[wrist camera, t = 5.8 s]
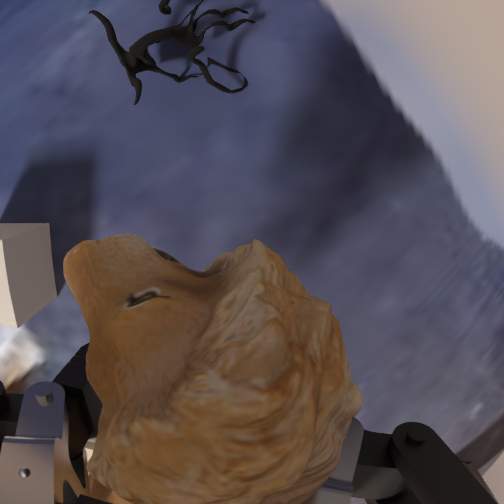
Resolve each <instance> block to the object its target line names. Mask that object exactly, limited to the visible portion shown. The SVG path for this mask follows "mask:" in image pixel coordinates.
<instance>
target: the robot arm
mask: <svg viewBox="0 0 504 504" xmlns="http://www.w3.org/2000/svg"><path fill="white" fill-rule="evenodd" d="M88 347H89V343H88V344H86V345H84V346H82V347H81V348H80V349H79V350H78V352H77V353H76V354H75V356H73V357H72V359H71V360H70V362H68V363H67V364H66V366H65V367H64V368H63V369H62V370H61V372H60V373H59V374H58V375H57V376H56V378H55V379H54V380H53V381H52V382H39V383H36V384H34V385H32V386H30V387H29V388H28V389H27V390H26V391H25V393H24V394H11V393H6V390H5V388H4V385H3V383H2V382H1V381H0V504H113V503H109V502H105V501H102V500H98V499H95V498H92V497H91V494H90V486H89V476H88V471H87V469H86V465H87V453H86V450H85V448H84V447H85V445H86V443H87V441H90V442H93V443H95V441H96V437H97V434H98V421H99V418H100V414H101V410H102V407H103V404H102V402H101V400H100V399H99V397H98V396H97V394H96V392H95V391H94V389H93V388H92V386H91V384H90V383H89V381H88V379H87V374H86V354H87V350H88ZM351 497H357V498H365V500H366V502H367V504H499V503H498V502H497V500H496V498H495V497H494V495H493V494H492V492H491V490H490V489H489V487H488V485H487V484H486V482H485V481H484V479H483V478H482V476H481V474H480V473H479V471H478V470H477V468H476V467H475V465H474V464H473V462H472V463H469V464H466V463H464V462H461V461H460V460H459V459H458V457H457V456H456V455H455V454H454V453H453V452H452V451H451V449H450V448H449V447H448V446H447V445H446V444H445V443H444V442H443V440H442V439H441V438H440V437H439V436H438V435H437V434H436V433H435V431H434V430H433V429H431V428H430V427H429V426H427V425H424V424H422V423H418V422H406V423H403V424H400V425H399V426H397V427H396V428H395V430H394V431H393V433H392V434H384V433H376V432H370V431H367V430H364V429H363V426H362V424H361V423H360V422H359V421H358V420H357V419H356V418H355V417H353V418H352V422H351V424H350V426H349V428H348V431H347V433H346V435H345V437H344V440H343V444H342V453H341V461H340V463H339V464H338V466H337V467H336V468H335V470H334V471H333V473H332V474H331V475H330V476H329V477H328V479H327V480H326V481H325V482H324V483H323V485H322V486H321V488H320V489H319V490H318V491H317V492H316V493H315V494H314V495H312V496H311V497H310V498H309V499H307V500H306V501H304V502H303V503H301V504H350V500H351Z"/></svg>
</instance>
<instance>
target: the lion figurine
mask: <svg viewBox="0 0 504 504" xmlns="http://www.w3.org/2000/svg"><path fill="white" fill-rule="evenodd" d="M63 270H64V278H65V280H66V282H67V284H68V286H69V288H70V290H71V291H72V293H73V295H74V297H75V299H76V300H77V302H78V304H79V306H80V309H81V311H82V314H83V316H84V318H85V321H86V323H87V325H88V328H89V332H90V342H89V347H88V350H87V354H86V374H87V379H88V381H89V383H90V384H91V386H92V388H93V389H94V391H95V392H96V394H97V396H98V397H99V399H100V400H101V402H102V404H103V407H102V410H101V414H100V418H99V421H98V434H97V437H96V441H95V445H94V449H93V454H92V456H91V458H90V460H89V461H88V463H87V465H86V469H87V471H88V472H89V475H88V476H89V486H90V494H91V497H92V498H95V499H98V500H102V501H105V502H109V503H113V504H301V503H303V502H304V501H306V500H307V499H309V498H310V497H311V496H312V495H314V494H315V493H316V492H317V491H318V490H319V489H320V488H321V486H322V485H323V483H324V482H325V481H326V480H327V479H328V477H329V476H330V475H331V474H332V473H333V471H334V470H335V468H336V467H337V466H338V464H339V463H340V461H341V453H342V444H343V440H344V437H345V435H346V433H347V431H348V428H349V426H350V424H351V422H352V418H353V417H354V416H355V415H356V414H357V413H358V412H359V411H360V409H361V406H362V402H363V396H362V393H361V391H360V389H359V388H358V386H357V385H356V384H355V383H354V382H353V381H352V379H351V370H350V365H349V363H348V361H347V357H346V351H345V347H344V343H343V340H342V335H341V330H340V325H339V321H338V319H337V318H336V317H335V316H334V315H333V314H332V313H331V311H332V308H331V305H330V304H329V303H327V302H325V301H323V300H321V299H319V298H317V297H314V296H312V295H310V294H309V293H308V292H307V291H306V290H305V288H304V286H303V284H302V283H301V281H300V280H299V278H298V277H297V276H296V275H295V274H293V273H292V272H291V271H290V270H288V269H287V268H286V265H285V263H284V261H283V259H282V258H281V257H280V256H279V255H278V254H277V253H275V252H274V251H272V250H271V249H269V248H267V247H266V246H265V245H264V244H263V243H262V242H260V241H258V240H257V239H253V242H252V243H251V244H245V245H241V246H239V247H238V248H236V249H235V250H234V251H233V252H225V253H222V254H221V255H220V256H218V257H217V259H216V260H215V261H214V262H213V264H212V265H210V266H208V267H207V268H205V269H204V270H202V271H194V270H191V269H189V268H187V267H186V266H184V265H183V264H181V263H180V262H179V261H178V260H176V259H175V258H173V257H172V256H170V255H169V254H167V253H165V252H164V251H162V250H160V249H158V248H155V247H151V246H150V245H149V244H148V243H147V242H146V241H144V240H143V239H142V238H141V237H139V236H137V235H135V234H118V235H113V236H109V237H106V238H104V239H101V240H83V241H82V242H80V243H79V244H77V245H76V246H74V247H73V248H72V249H71V250H70V251H69V252H67V254H66V256H65V258H64V261H63Z"/></svg>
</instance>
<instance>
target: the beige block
mask: <svg viewBox="0 0 504 504" xmlns="http://www.w3.org/2000/svg"><path fill="white" fill-rule="evenodd" d="M56 297H57V291H56V284H55V277H54V269H53V261H52V251H51V240H50V227H49V223H0V324H1V325H5V326H10V327H14V328H19V327H20V326H21V325H22V324H24V323H25V322H26V321H27V320H29V319H30V318H31V317H32V316H34V315H35V314H36V313H37V312H39V311H40V310H41V309H42V308H44V307H45V306H46V305H47V304H49V303H50V302H51V301H53V300H54V299H55V298H56Z"/></svg>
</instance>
